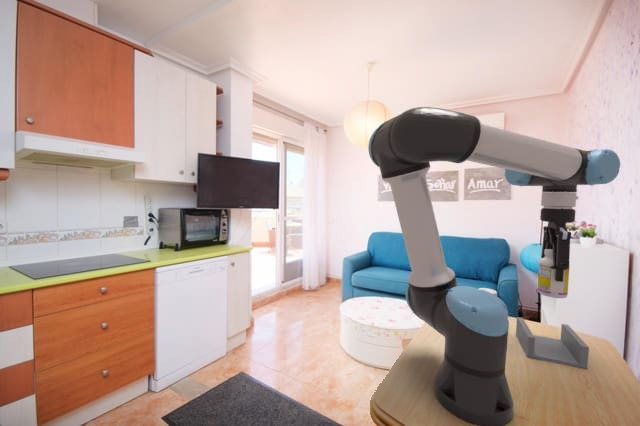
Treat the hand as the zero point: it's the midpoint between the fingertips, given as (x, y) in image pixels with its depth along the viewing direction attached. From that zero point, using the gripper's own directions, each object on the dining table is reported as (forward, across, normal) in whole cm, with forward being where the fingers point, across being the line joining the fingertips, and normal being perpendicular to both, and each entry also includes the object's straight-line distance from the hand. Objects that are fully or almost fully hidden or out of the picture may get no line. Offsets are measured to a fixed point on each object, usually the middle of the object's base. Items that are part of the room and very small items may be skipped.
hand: (552, 288), depth 83 cm
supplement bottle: (+2, 0, 0) cm, 2 cm away
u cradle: (+18, 0, 0) cm, 18 cm away
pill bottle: (+19, +1, +16) cm, 25 cm away
